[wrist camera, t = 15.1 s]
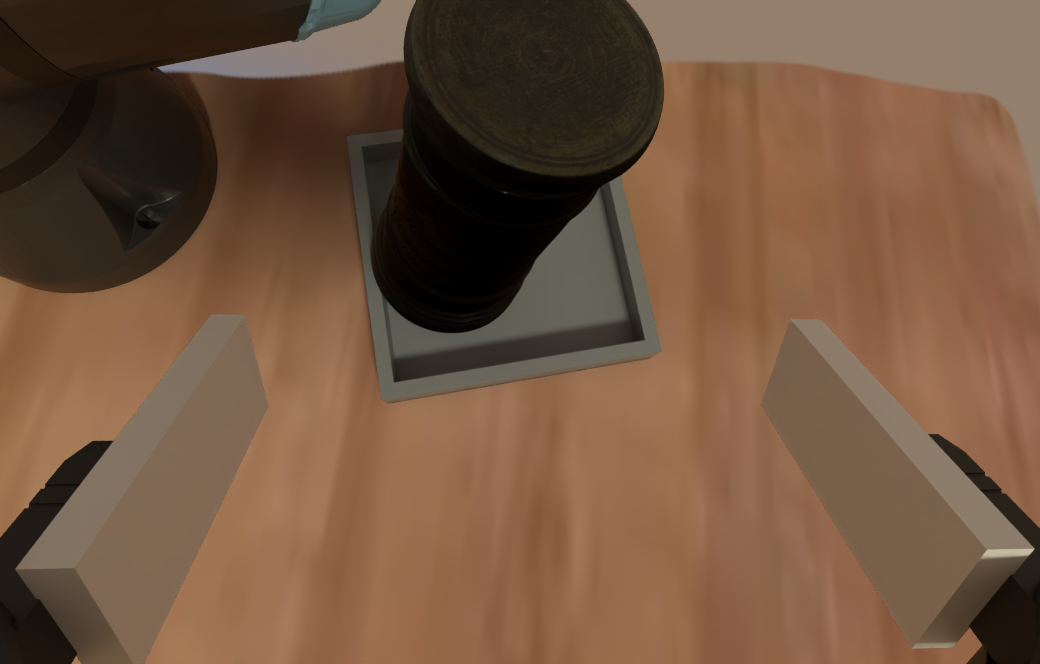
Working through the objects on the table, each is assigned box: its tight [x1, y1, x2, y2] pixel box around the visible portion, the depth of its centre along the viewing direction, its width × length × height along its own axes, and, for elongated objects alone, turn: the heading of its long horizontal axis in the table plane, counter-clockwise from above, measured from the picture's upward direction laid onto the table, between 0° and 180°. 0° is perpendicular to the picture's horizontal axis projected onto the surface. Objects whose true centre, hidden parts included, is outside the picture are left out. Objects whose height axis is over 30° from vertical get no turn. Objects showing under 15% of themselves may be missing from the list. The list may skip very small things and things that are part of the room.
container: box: [371, 0, 664, 333], centre depth 26 cm, size 9×9×18 cm
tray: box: [346, 129, 661, 403], centre depth 35 cm, size 16×16×2 cm
